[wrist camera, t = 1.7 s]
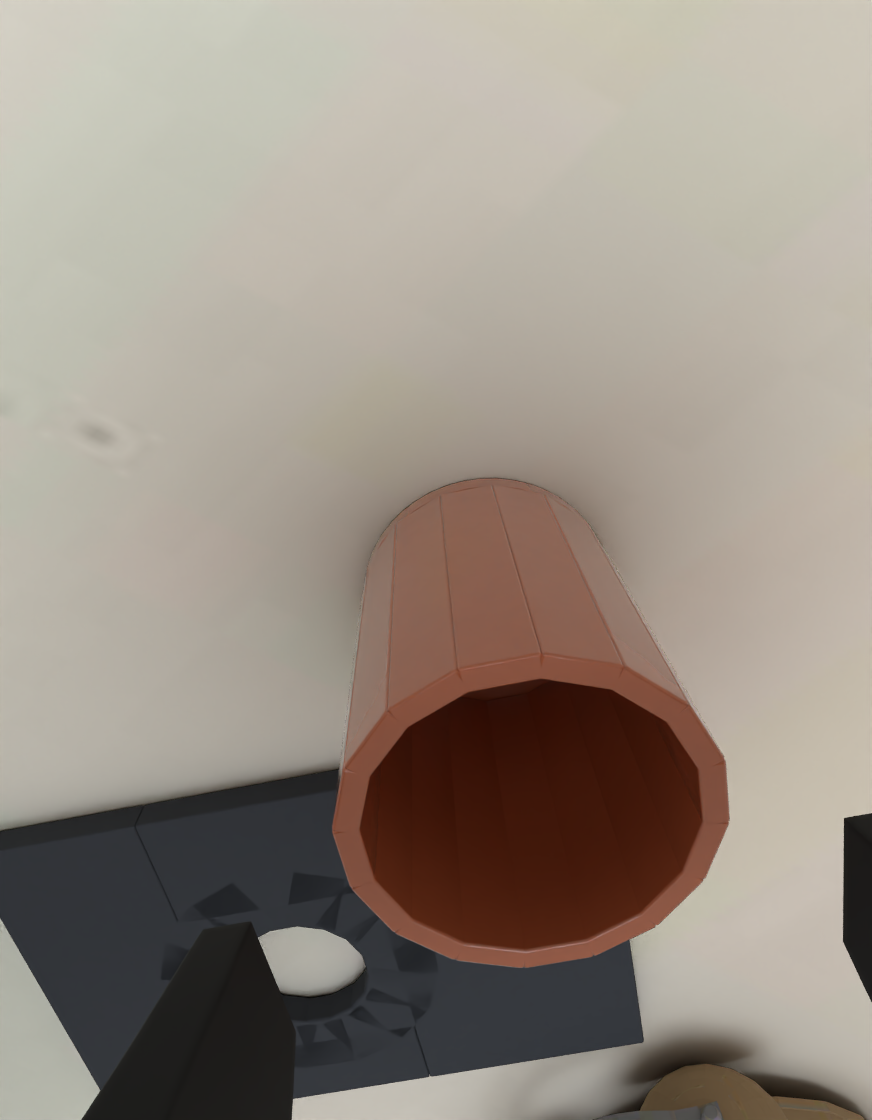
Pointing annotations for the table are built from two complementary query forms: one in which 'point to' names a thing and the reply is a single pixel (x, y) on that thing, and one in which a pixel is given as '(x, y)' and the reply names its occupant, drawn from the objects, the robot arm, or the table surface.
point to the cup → (517, 739)
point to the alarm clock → (724, 1099)
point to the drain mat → (271, 904)
